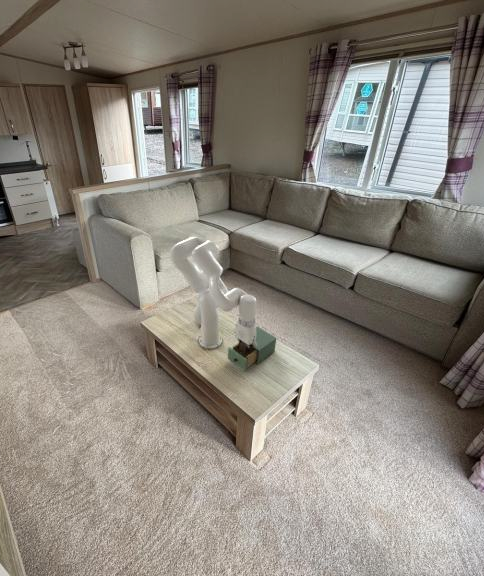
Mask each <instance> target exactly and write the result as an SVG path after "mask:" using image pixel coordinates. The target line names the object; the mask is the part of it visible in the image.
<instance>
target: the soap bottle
mask: <svg viewBox="0 0 484 576" xmlns="http://www.w3.org/2000/svg"><path fill="white" fill-rule="evenodd" d="M208 291H209V288H208V289H206V290H204V291H202V292H200V293H196V296H195V297H196V298H195V299H196V301H197V304H196V306H195V308H194V310H193V314H192V317H193V320H194V323H196V324H197V325H199V326H201V310H200V306H199V299H200V297H201V296H202V295H203V294H205V293H206V292H208ZM218 308H219V307H218ZM218 308H217V312H218V313H219V309H218Z"/></svg>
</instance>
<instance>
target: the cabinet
mask: <svg viewBox="0 0 484 576" xmlns="http://www.w3.org/2000/svg"><path fill="white" fill-rule="evenodd" d="M256 342H257V344H258V345H257V346H252V347H253V348H254V349H256V350H257V351H258V355H257V360H256V361H255V362H254V363H255V364H257V365H259V364H260V363H261V362H262V361H264V360H265V359H267V357H269V356H270V355H272V354H273V353H275V351H276V344H277V337H275V336H274V335H272V334H270V333H269V332H267V331H265V330H264V329H263V328H261V327H259V326H256Z"/></svg>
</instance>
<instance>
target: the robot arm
mask: <svg viewBox="0 0 484 576" xmlns="http://www.w3.org/2000/svg"><path fill="white" fill-rule="evenodd" d="M219 254H220V248H219V245H218V244H217V243H215V241H212V240H209V239H207V238H203V237H198V236H192V237H188V238H187V239H185V240H182V241H180V242H178V243H176V244H174V245H173V246H172V247H171V249H170V250H169V258H170V260H171V263H172V264H173V265H174V266H175V268H176V269H177V270H178V271H179V272H180V273H181V275H182V277H183V278H184V279H185V281H186V283H187V285H189V287H190V288H191V290H192V291H193V292H194V293H196V294H198V293H200V292H202V291H204V290H206V289H208V288H209V291H208V292H206V293H205V294H203V295H202V296H201V297H200V299H199V306H200V310H201V325H200V326H201V327H200V328H199V330H198V331H197V332H198V333H199V334H200V336H199V338H198V342H199V345H200V346H201V347H202V348H205V349H208V350H212V349H213V350H214V349H217V348H219V347H220V346H221V345H222V343H223V339H222V336H221V335H220V313H219V311H218V312H217V308H219V309H220V310H221V311H223V312H225V313H229V312H231V311H233V310H234V309H235V308H237V307H238V313H237V316H238V318H237V319H236V323H235V325H234V326H235V327H234V336H235V337H236V338H237V341H238V343H240V342H242V341H243V342H245V343H246V344H247V347H246V353H248V352H250V351H251V347H252V346H257V345H258V344H257V342H256V327H257V325H256V312H257V298H256V297H255V296H254V295H252V294H248V293H247V292H246V291H244V290H243V289H241V288H240V287H234V288H233V289H230V290H228V287H227V286H226V284H225V283H224V282H223V280H222V279H221V275H222V274H223V273H224V268H223V267H222V265H221V264H220V263H219V262H218V260H217V259H216V257H218V256H219ZM190 257H191V258H192V260H193V261H194V262H193V261H192V260H190V259H188V258H190Z"/></svg>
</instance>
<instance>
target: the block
mask: <svg viewBox="0 0 484 576" xmlns="http://www.w3.org/2000/svg"><path fill="white" fill-rule="evenodd" d="M238 343H239V342H238ZM246 347H247V344H246V343H245V342H243V341H242V342H240V343H239V349H240V350H241V351H243V352H244V353H246Z"/></svg>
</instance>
